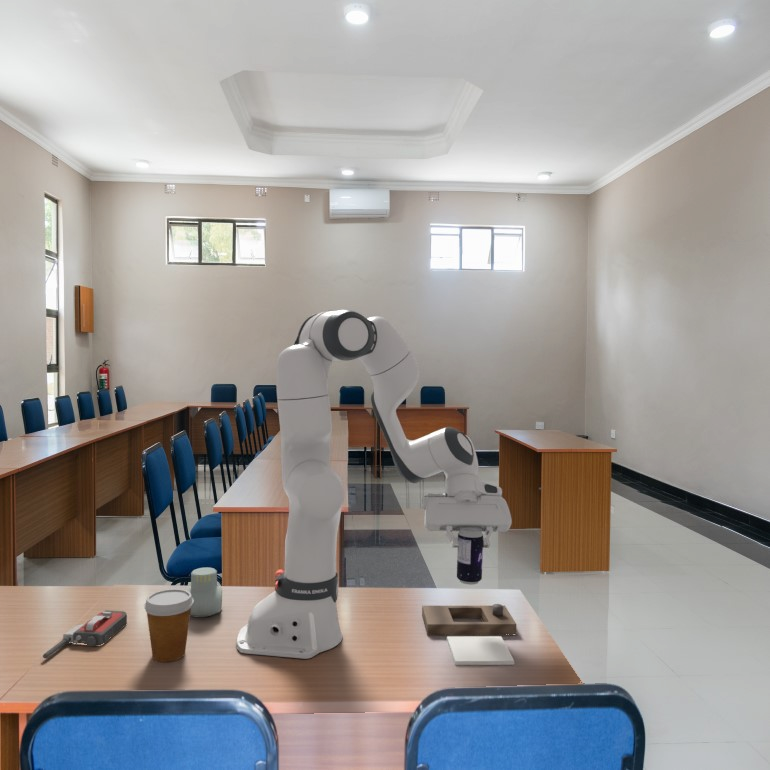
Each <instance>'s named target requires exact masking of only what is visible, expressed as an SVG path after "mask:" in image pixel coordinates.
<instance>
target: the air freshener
mask: <svg viewBox="0 0 770 770" xmlns="http://www.w3.org/2000/svg"><path fill="white" fill-rule="evenodd" d="M217 574H218V570H217V569H215V568H213V567H210V566H209V567H208V566H207V567H199V568H196V569H193V570H192V571H191V573H190V587H189V588H188V589H186V590H187V591H189V592H190V593H191V595H192V598H193V599H194V602H193V604H192V607H191V612H190V617H191V616H192V617H196V618H205V617H210V616H214V615H215V614H218V613H219V612H221V611H222V608H223V607H222V606H223V588H222V587H221V586H219V585H218V576H217Z"/></svg>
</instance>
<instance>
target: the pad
mask: <svg viewBox="0 0 770 770" xmlns="http://www.w3.org/2000/svg"><path fill="white" fill-rule="evenodd" d="M446 642H447V646H448V647H449V650H450V653H451V656H452V660H453V663H454V665H455V666H504V665H505V666H507V665H508V666H511V665H512V666H513V665H515V660H514V657H513V656H512V654H511V652H510V650H509V649H508V646H507V644H506V643H505V641H504V639H503V637H502V635H447V636H446Z"/></svg>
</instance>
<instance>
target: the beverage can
mask: <svg viewBox="0 0 770 770" xmlns="http://www.w3.org/2000/svg"><path fill="white" fill-rule="evenodd" d="M481 531H482V530H481V529H480V528H477V527H461V528H460V531H458V533H457V537H458V539H459V540H458V542H459V546H458V548H457V553H456V554H457V555H456V556H457V557H456V558H457V559H456V578H457V580H458V581H459V582H461V584H463V585H469V586H470V585H472V586H473V585H477V584H479V582H480V581H481V580H482V579H483V555H484V552H483V551H484V548H483V538H484V535H483V532H481Z"/></svg>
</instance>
